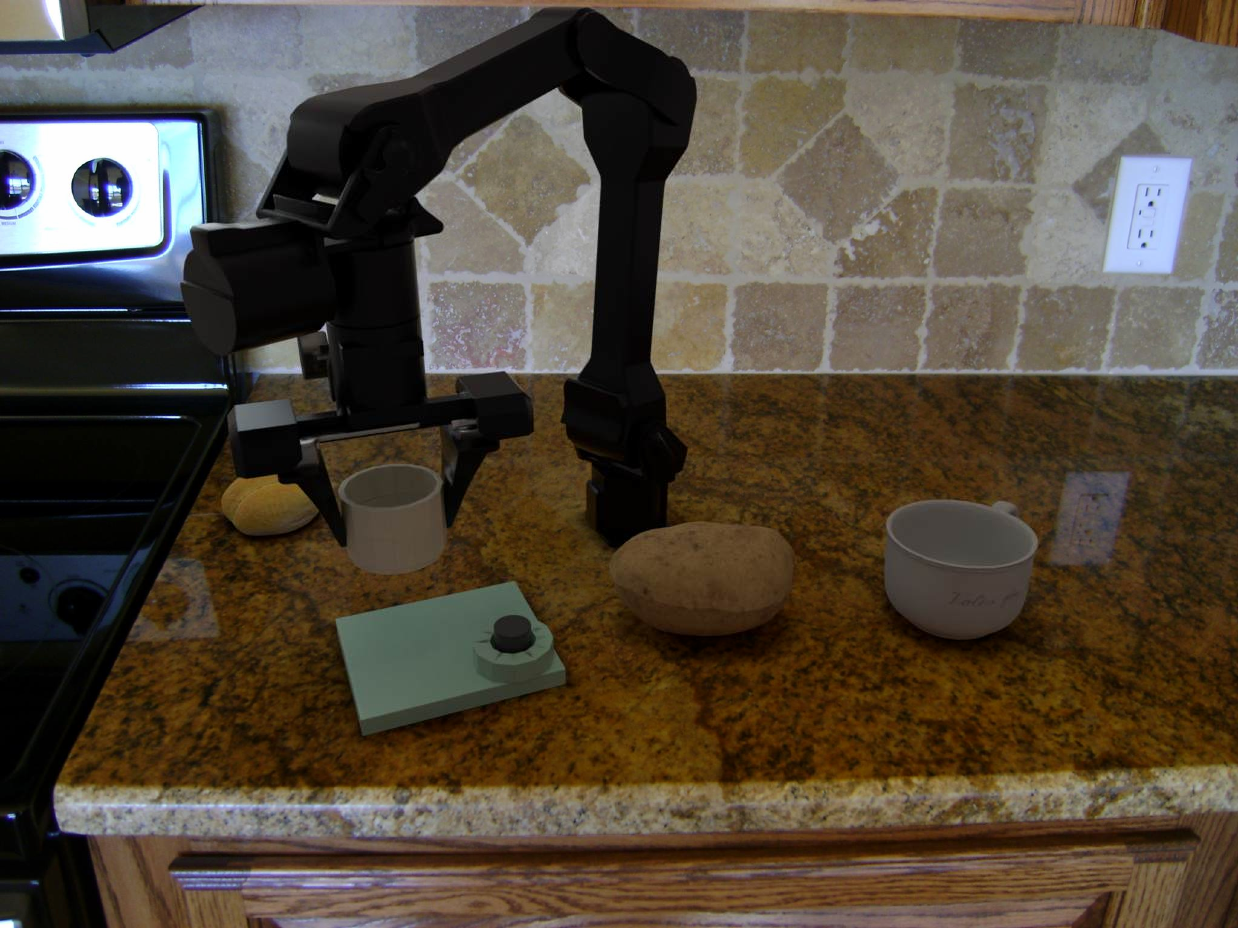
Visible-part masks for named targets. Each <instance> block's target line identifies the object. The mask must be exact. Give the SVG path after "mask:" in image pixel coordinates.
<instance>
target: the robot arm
mask: <svg viewBox="0 0 1238 928" xmlns="http://www.w3.org/2000/svg"><path fill="white" fill-rule="evenodd" d="M696 82H697V81H696V79H695V77H694V76H692V75H691V73H690V70H689V69H688V66H687V64H686V63H685V62H684V61H683V60H682V59H681V58H679V57H676V56H674V55H668V54H667V53H666V52H664V51H663V50H662V49H661V48H659V47H656V46H655V45H652V44H650V43H649V42H646V41H644V40H642V39H640V38H639V37H637V36H635V35H632V33H631V34H630V33H629V32H627V31H625V30H623V29H621V28H619V27H618V26H616V24H614V23H613V22H612V21H611V20H610V19H608V18H607V17H606V16H605V15H604V14H602V13H600V12H598V11H597V10H595V9H594V8H591V7H589V6H548V7H542V8H541V9H539V10H538V11H536V12H535V13H533V14H532V16H530V17H529V19H526V20H525V21H523V22H520V23H519V24H517V25H515V26H512V27H511V28H509V29H507V30H505V31H503V32H501V33H499V34H496V35H495V36H493V37H490V38H488V39H486V40H484V41H483V42H480V43H478V44H476V45H475V46H472V47H470V48H468V49H466V50H464V51H462V52H460V53H457V54H456V55H454V56H451V57H450V58H448V59H445V60H444V61H441V62H439V63H437V64H435V65H434V66H433V65H432V67H430V68H428V69H426V70H423V71H422V72H420V73H417V74H415V75H413V76H411V77H406V78H403V79H398V80H394V81H387V82H379V83H371V84H370V83H369V84H363V85H356V86H351V87H347V88H343V89H338V90H334V91H330V92H325V93H321V94H317V95H314V96H313V95H312V96H311V97H308V98H307V99H305V100H303V101H302V102H301V103H299V104H298V105H296V107H295V108H294V109H293V111H292V112H291V113H290V115H289V121H290V122H289V125H288V128H287V132H286V137H285V139H286V140H285V141H286V145H285V146H286V147H285V149H284V151H283V153H282V155H281V158H280V159H279V160H278V164H277V165H276V168H275V170H274V171H273V174H272V176H271V178H270V180H269V182H268V184H267V186H266V188H265V190H264V192H263V195H262V196H261V199H260V201H259V203H258V205H257V207H256V209H255V216H256V218H257V219H252V220H245V221H239V222H233V223H221V222H208V223H201V224H195V225H192V226H191V227H190V228H189V233H190V240H191V244H192V249H191V250H190V251H188V253H187V254H186V256H185V259H184V262H183V268H182V269H183V270H182V272H183V273H182V274H183V275H182V277H183V280H182V281H180V283H179V287H180V292H181V296H182V297H181V298H182V300H183V305H184V308H185V311H186V314H187V316H188V319H189V322H190V324H191V325H192V327H193V330H194V332H195V333H196V334H197V337H198V338H199V340H200V341H201V342H202V343H203V345H204V346H205V347H206V348H207V349H208V350H209V351H211V352H212V353H213V354H215V355H216V356H218V357H226V356H230V355H234V354H238V353H242V352H246V351H249V350H253V349H258V348H261V347H265V346H269V345H274V344H277V343H281V342H284V341H288V340H292V339H296V341H297V349H298V356H299V361H300V368H301V369H300V370H301V374H302V379H303V380H305V381H310V380H317V379H318V380H319V379H325V378H327V380H328V388H329V396H330V399H331V400H332V402H333V403H335V405H336V410H329V411H322V412H314V413H307V414H299V415H296V414H295V411H294V406H293V404H292V400H291V397H288V398H282V399H274V400H266V401H265V400H264V401H257V402H251V403H243V404H235V405H233V407H232V409H231V410H230V411H229V413H228V414H227V415H226V418H227V428H228V437H229V445H230V451H231V456H232V462H233V467H234V472H235V477H236V478H244V479H251V478H257V477H264V476H270V475H277V477H278V481H279V483H281V484H284V485H288V484H297V485H298V486H299V487H300V489H301V490H302V491H303V492H304V493H305V494H306V495H307V497H308V498H309V499H310V500H311V501H312V502H313V504H314V505H315V506H316V507H317V509H318V510H319V513H320V514H321V516H322V518H323V520H324V522H325V523H326V525H327V526H328V528H329V529H330V531H331V533H332V535H333V537H334V539H335V540H336V541H337V543H338V545H339V547H340V548H345V547H347V540H346V531H345V527H344V524H343V521H342V518H341V511H340V507H339V505H338V504H339V503H337V498H336V495H335V491H334V488H333V485H332V482H331V478H330V476H329V472H328V467H327V465H326V462H325V458H324V455H323V451H322V449H321V444H327V443H333V442H334V443H335V442H340V441H341V442H342V441H348V440H354V439H360V438H366V437H375V436H381V435H388V434H396V433H401V432H408V431H409V432H410V431H416V430H422V429H428V428H437V427H438V428H439V437H440V443H441V464H440V465H441V467H440V468H441V469H440V477H441V479H442V481H443V486H444V499H445V514H446V526H447V529H450V528H452V527H453V525H454V523H455V520H456V517H457V515H458V512H459V510H460V507H461V506H462V503H463V500H464V498H465V496H466V493H467V491H468V489H469V487H470V484H471V483H472V481H473V479H474V477H475V476H476V474H477V472H478V470H479V468H480V467H481V465H482V464H483V461H484V460H485V458H486V457H487V455H488V454H490V453H495V452H498V451H499V450H500V449H501V448H500V447H501V441H503V440H509V439H516V438H523V437H529V436H530V435H532V433H534V432H535V417H534V416H535V414H534V406H533V402H532V399H531V397H530V396H529V394H528V393H527V392H526V391H525V389H523V388H522V386H521V385H520V384H519V383H518V382H517V380H515V378H514V377H512V376H511V375H510V374H509V373H508V372H507V371H505V370H501V371H493V372H486V373H477V374H470V375H461V376H457V377H456V380H455V384H454V391H455V392H454V393H449V394H446V395H441V396H433V397H428V388H427V386H428V385H427V375H426V363H425V362H426V361H425V348H424V347H425V346H424V340H423V327H422V316H421V305H420V292H419V281H418V270H417V269H418V267H417V257H416V244H415V240H416V239H418V238H422V237H428V236H434V235H439V234H442V233H443V231H444V229H445V225H444V223H443V221H441V220H440V219H438V217H436V216H435V215H434V214H433V213H431V212H430V211H428V210H427V209H426V208H425V207H424V206H423V205H422V204H421V202H420V201H419V199H418V197H417V196H416V195H418V194H419V193H420V192H421V191H422V190H424V188H426V187H427V186H428V185H429V184H431V182H433V181H434V180H435V179H436V178H437V177H438V176H439V175H441V173H442V172H443V171H444V170H445V167H446V166H447V163H448V161H449V159H450V156H451V155H452V152H453V151H454V150H455V149H456V148H457V147H458V146H459V145H460V144H461V143H463V142H464V141H465V140H467V139H468V138H470V137H472V136H474V135H475V134H477V133H480V132H481V131H483V130H484V129H486V128H488V127H490V126H492V125H494V124H495V123H496V122H498V121H500V120H502V119H504V118H506V117H507V116H509V115H511V114H513V113H515V112H516V111H518V110H520V109H522V108H523V107H525V106H527V105H529V104H531V103H532V102H534V101H536V100H538V99H540V98H541V97H543V96H545V95H547V94H548V93H550V92H552V91H554V90H555V89H557V90H558V92H559V93H560V94H561V95H563V96H564V97H565V98H567V99H568V100H569V101H571V102H572V103H574V104H575V105H576V106H578V107H579V108H580V109H581V120H582V121H581V122H582V137H583V140H584V143H585V146H586V147H587V149H588V152H589V154H590V157H591V159H592V161H593V163H594V165H595V168H596V170H597V172H598V175H599V179H600V186H599V188H600V189H599V203H598V204H599V205H598V223H597V238H596V239H597V241H596V257H595V258H596V259H595V260H596V261H595V274H594V275H595V276H594V292H593V293H594V294H593V311H592V312H593V313H592V331H591V346H590V355H589V359H588V360H587V362H586V363H585V365H584V366H583V367H582V369H581V370H580V371H579V373H578V375H577V376H576V377H568V378H566V379H565V381H564V383H563V387H562V388H563V403H564V404H563V409H562V410H563V411H562V414H561V418H560V420H559V421H560V424H563V425H565V435H566V437H567V440H569V441H570V442H571V443H572V444H573V447H574V449H575V452H576V456H577V459H578V460H581V461H586V462H589V463H591V479H588V480H587V481H586V483H585V496H586V497H585V501H586V503H585V506H586V509H585V511H584V517H585V519H586V521H587V523H588V524H589V525H590V526H591V527H592V529H593V530H594V531H595V532H596V533H597V534H598V535H599V537H601V539H602V540H603V541H604V543H605V544H606V545H607V546H608V547H611V548H615V547H621V546H622V545H623V544H625V543H626V542H627V541H629V540H630V539H631V538H632V537H634V536H636V535H638V534H640V533H642V532H645V531H649V530H652V529H659V528H667V527H671V526H673V525H672V523H670V522H669V521H668V502H669V501H668V500H669V498H668V497H669V484H671V483H673V482H675V481H676V475H677V474H679V473H681V472H682V471H683V470H684V466H685V462H686V459H687V456H688V450H689V449H688V446H687V445H686V444H685V443H684V442H683V441H682V440H681V439H680V438H679V437H678V436H677V435H676V434H675V433H674V432H673V431H672V430H671V428H669V426H667V395H666V392H665V389H664V388H663V386H662V384H661V381H660V379H659V377H658V375H657V373H656V370H655V368H654V366H653V363H652V347H653V333H654V320H655V309H656V308H655V307H656V295H657V285H658V273H659V272H658V271H659V259H660V248H661V247H660V246H661V234H662V224H663V223H662V221H663V212H664V211H663V210H664V198H665V187H666V181H667V180H668V178H669V176H670V175H671V174H672V172H673V171H674V169H675V168H676V166H677V164H678V162H680V160H681V159H682V157H683V156H684V154H685V152H686V151H687V150H688V147H689V144H690V138H691V134H692V133H691V132H692V128H693V123H694V118H695V113H696V109H697V108H696V107H697V104H698V103H697V102H698V88H697V83H696ZM316 195H318V196H321V197H323V198H328V199H333V200H336V201H337V200H338V201H337V204H335V203H332V202H331V203H330V202H326V201H322V200H317V199H314V198H315V197H316ZM324 327H326V328H325V329H326V331H324V330H322V329H323V328H324Z"/></svg>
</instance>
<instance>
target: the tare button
mask: <svg viewBox="0 0 1238 928" xmlns="http://www.w3.org/2000/svg"><path fill="white" fill-rule="evenodd" d="M493 628H494V645H495V648H496V649H497V650H498V651H499V652H501V653H508V654H515V653H520V652H524V651H526V650H528V649H529V648H530V646H531V644H532V634H531V622H530V621H529V620H528V619H527V618H526V617H524V616H520V615H507V616H504V617H501V618H500V619H498V620H497V621H496V622H495V624H494V627H493Z"/></svg>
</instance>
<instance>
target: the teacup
mask: <svg viewBox="0 0 1238 928" xmlns="http://www.w3.org/2000/svg"><path fill="white" fill-rule="evenodd" d="M1019 515H1020V514H1019V509H1018V507H1017V506H1016V505H1015V504H1014V503H1012V502H1009V501H1007V500H1006V501H1005V500H998V501H996V502H994V503H993V504H992V505H991V506H989V505H986V504H982V503H977V502H971V501H967V500H966V501H965V500H957V499H928V500H927V499H926V500H921V501H916V502H911V503H908V504H905V505H902V506H900V507H898V508H896V510H893V511H892V512H891V513H890V514H889V515H888V516H887V519H886V522H885V533H886V540H885V548H884V549H885V552H884V568H883V575H884V576H883V577H884V581H883V582H884V588H885V593H886V595H887V598H888V600H889V602H890V604H891V605H892V606H893V608H894V609H895V610H896V612H898V613H899V614H900V615H901V616H902V617H904V618H905V619H906V620H908V622H910V623H911V624H912V625H913V626H915V627H916V628H918V629H920V630H921V631H923V632H925V633H927V634H930V635H933V636H936V637H938V638H942V639H943V638H944V639H948V640H958V641H965V640H974V639H978V638H982V637H985V636H988V635H990V634H993V633H996V632H999V631H1001V630H1002V629H1004V628H1006V627H1008V626H1010V624H1011V623H1013V622H1014V621H1015V620H1016V619H1017V618H1018V616H1019V615H1020V613H1021V612H1022V610H1023V607H1024V605H1025V602H1026V599H1027V595H1028V591H1029V586H1030V584H1031V583H1030V582H1031V577H1032V572H1033V566H1034V562H1035V555H1036V554H1037V551H1038V548H1039V538H1038V537H1037V534H1036V532H1035V531H1034V530H1033V529H1032V528H1031V526H1029V525H1028V524H1027V523H1026V522H1024V521H1022V519H1020V518H1019Z"/></svg>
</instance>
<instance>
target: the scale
mask: <svg viewBox="0 0 1238 928" xmlns="http://www.w3.org/2000/svg"><path fill="white" fill-rule="evenodd" d="M507 615H520V616H524V617H526V618H527V619H528V620H529V621H530V622H531V634H532V644H531V646H530V648H529V649H528V650H526V651H524V652H520V653H515V654H508V653H501V652H499V651H498V650H497V649H496V648H495V645H494V628H493V627H494V624H495V622H496V621H497V620H498V619H500V618H501V617H504V616H507ZM335 628H336V635H337V638H338V642H339V646H340V650H341V655H342V658H343V662H344V667H345V670H346V675H347V679H348V683H349V687H350V691H351V694H352V695H351V696H352V699H353V703H354V707H355V711H356V715H357V719H358V723H359V728H360V732H361V735H362V737H365V736H369V735H373V734H377V733H380V732H384V731H388V730H392V729H396V728H399V727H403V726H407V725H412V724H416V723H419V722H423V721H426V720H430V719H434V718H438V717H443V716H447V715H450V714H454V713H458V712H462V711H465V710H469V709H473V708H477V707H482V706H485V705H489V704H493V703H496V702H500V701H504V700H509V699H512V698H517V697H521V696H525V695H528V694H532V693H535V692H539V691H543V690H548V689H551V688H555V687H559V686H563V685H566V684H567V677H566V676H567V675H566V674H567V672H566V671H567V669H566V667H565V665H564V663H563V662H562V660H561V658H560V656H559V655H558V653H557V651H556V649H555V646H554V643H555V640H554V639H555V638H554V635H553V633H552V632H551V630H550V628H549V627H548V624H545V623H543V622H541V621H539V620H538V619H537V617H536V615H535V613H534V612H533V610H532V608H531V606H530V605H529V603H528V601H527V600H526V598H525V596H524V594H523V593H522V591H521V589H520V587H519V586H518V584H517V582H516V581H515V580H512V581H508V582H503V583H497V584H494V585H489V586H485V587H481V588H474V589H470V590H465V591H461V592H455V593H450V594H447V595H441V596H438V597H432V598H427V599H422V600H418V601H413V602H409V603H403V604H399V605H395V606H394V605H393V606H390V607H386V608H380V609H376V610H369V611H366V612H362V613H357V614H353V615H352V614H351V615H346V616H343V617H338V618H335Z"/></svg>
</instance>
